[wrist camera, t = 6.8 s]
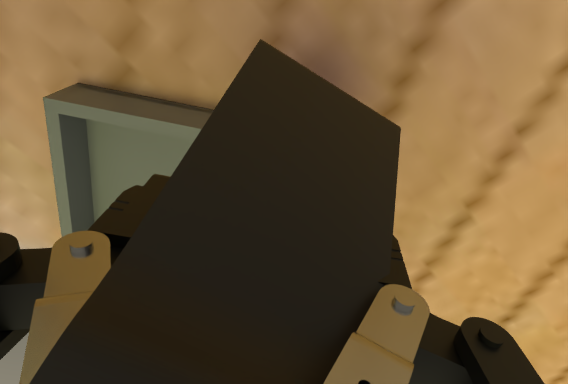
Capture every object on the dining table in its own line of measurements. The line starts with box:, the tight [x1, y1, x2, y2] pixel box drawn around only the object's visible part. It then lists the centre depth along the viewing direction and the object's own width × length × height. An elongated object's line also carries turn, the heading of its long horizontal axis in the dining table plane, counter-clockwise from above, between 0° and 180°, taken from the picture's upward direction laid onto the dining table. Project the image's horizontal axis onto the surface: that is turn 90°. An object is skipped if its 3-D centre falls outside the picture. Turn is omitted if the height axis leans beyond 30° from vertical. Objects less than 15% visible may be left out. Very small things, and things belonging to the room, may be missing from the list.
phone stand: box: [29, 39, 401, 384], centre depth 11 cm, size 9×6×12 cm, turn 149°
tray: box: [43, 83, 214, 237], centre depth 33 cm, size 17×16×4 cm
